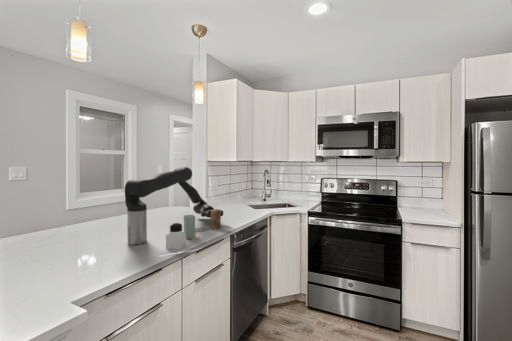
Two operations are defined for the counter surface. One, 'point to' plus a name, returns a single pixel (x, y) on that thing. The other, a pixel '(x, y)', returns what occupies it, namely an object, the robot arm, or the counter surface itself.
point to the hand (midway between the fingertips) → (215, 215)
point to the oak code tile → (193, 238)
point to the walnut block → (215, 219)
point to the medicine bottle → (175, 237)
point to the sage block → (189, 226)
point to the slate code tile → (200, 229)
